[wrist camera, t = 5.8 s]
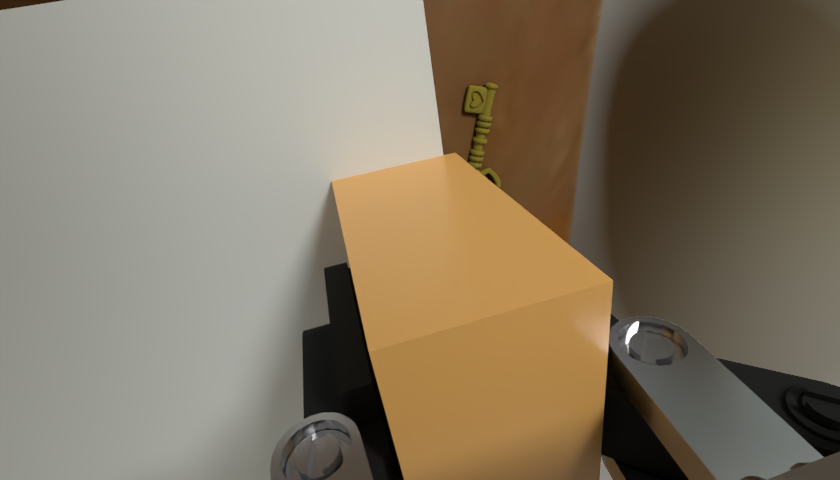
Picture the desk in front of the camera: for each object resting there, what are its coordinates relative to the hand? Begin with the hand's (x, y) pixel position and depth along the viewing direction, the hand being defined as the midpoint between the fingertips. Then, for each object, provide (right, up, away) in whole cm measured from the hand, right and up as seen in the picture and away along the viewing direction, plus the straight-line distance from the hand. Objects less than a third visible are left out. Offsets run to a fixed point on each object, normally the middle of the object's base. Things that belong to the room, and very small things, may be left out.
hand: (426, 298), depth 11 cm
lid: (-8, -1, +1) cm, 9 cm away
